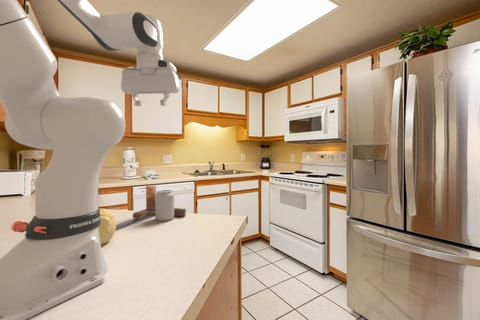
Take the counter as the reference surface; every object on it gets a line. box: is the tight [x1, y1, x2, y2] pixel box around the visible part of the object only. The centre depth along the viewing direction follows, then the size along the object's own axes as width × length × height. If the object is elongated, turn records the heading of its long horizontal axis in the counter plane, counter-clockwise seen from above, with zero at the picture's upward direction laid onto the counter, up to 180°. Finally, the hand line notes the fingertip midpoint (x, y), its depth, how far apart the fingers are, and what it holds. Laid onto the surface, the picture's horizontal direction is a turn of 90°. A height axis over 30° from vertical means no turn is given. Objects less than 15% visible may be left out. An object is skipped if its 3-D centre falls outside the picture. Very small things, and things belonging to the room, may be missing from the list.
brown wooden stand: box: [132, 184, 187, 219], centre depth 97 cm, size 14×16×13 cm
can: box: [154, 189, 175, 222], centre depth 96 cm, size 8×8×12 cm
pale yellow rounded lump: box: [99, 208, 117, 246], centre depth 70 cm, size 11×12×11 cm
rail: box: [115, 213, 155, 232], centre depth 92 cm, size 28×2×1 cm, turn 162°
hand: (150, 105), depth 83 cm, fingers open, 8 cm apart
